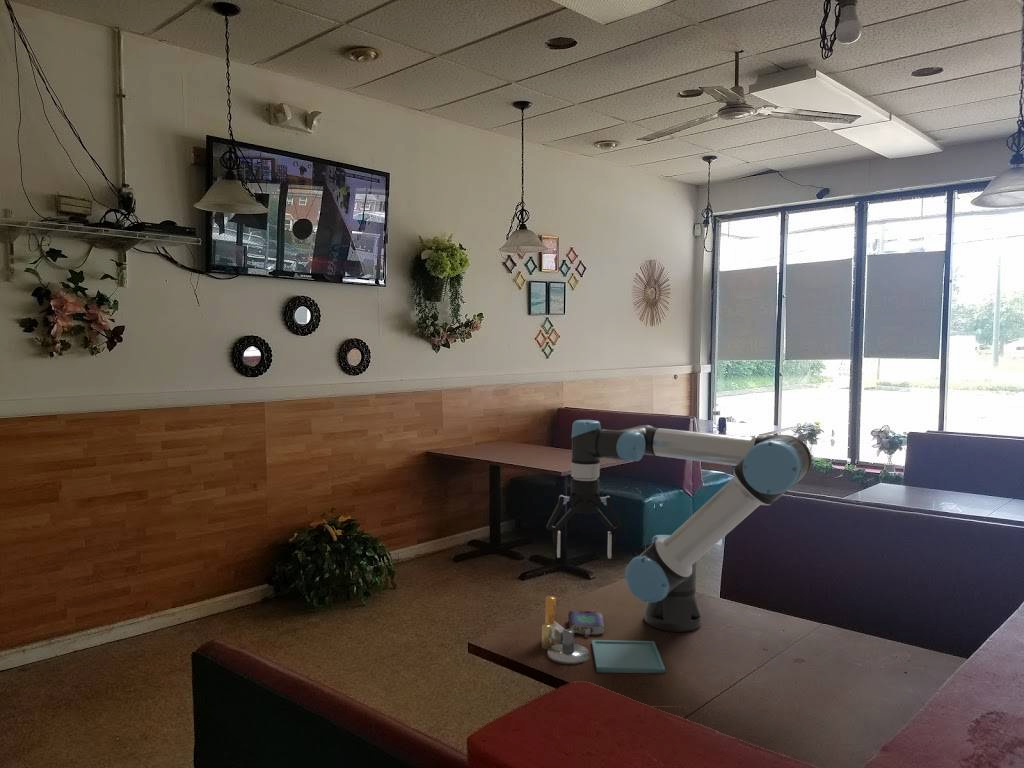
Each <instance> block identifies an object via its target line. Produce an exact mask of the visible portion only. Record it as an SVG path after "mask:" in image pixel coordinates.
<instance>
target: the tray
mask: <svg viewBox="0 0 1024 768" xmlns="http://www.w3.org/2000/svg"><path fill="white" fill-rule="evenodd" d="M656 644H657V643H656V642H655V641H654V640H620V639H619V640H617V639H616V640H615V639H613V640H612V639H591V645H592V652H593V658H594V664H595V669H596V673H611V674H612V673H613V674H614V673H615V674H616V673H619V674H621V673H622V674H623V673H624V674H626V673H627V674H629V673H630V674H633V673H634V674H665V673H666V667H665V665H664V663H663V660H662V657H661V655H660V651H659V650H658V647H657V645H656Z"/></svg>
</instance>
